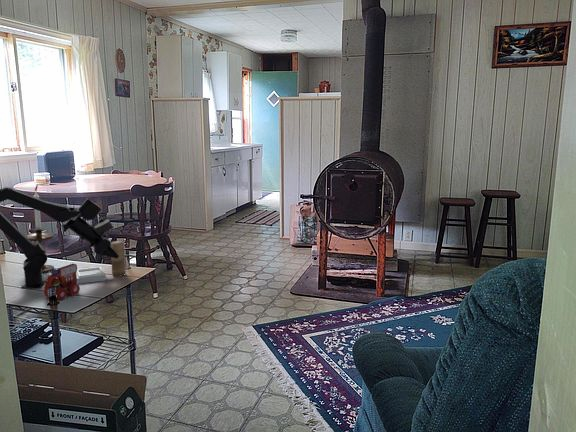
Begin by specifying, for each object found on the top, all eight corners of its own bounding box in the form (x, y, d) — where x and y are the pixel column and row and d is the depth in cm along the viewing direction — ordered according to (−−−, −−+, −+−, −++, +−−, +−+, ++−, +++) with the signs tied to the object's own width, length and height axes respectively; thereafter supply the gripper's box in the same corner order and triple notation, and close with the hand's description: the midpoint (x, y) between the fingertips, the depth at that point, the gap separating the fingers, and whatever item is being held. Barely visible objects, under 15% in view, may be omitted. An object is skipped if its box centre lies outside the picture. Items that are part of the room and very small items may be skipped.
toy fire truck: (39, 299, 157) (36, 270, 155) (70, 288, 168) (68, 261, 166) (52, 303, 154) (50, 273, 152) (84, 292, 165) (82, 263, 163)
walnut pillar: (123, 276, 183) (122, 244, 180) (110, 276, 182) (108, 244, 180) (127, 272, 187) (125, 241, 185) (114, 272, 187) (112, 241, 185)
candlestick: (62, 267, 193) (56, 182, 186) (46, 275, 182) (40, 186, 176) (37, 265, 194) (30, 181, 187) (20, 273, 183) (12, 185, 177)
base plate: (77, 283, 173) (76, 276, 173) (75, 276, 182) (74, 269, 181) (105, 280, 178) (105, 273, 177) (102, 272, 186) (101, 266, 186)
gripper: (102, 218, 169) (135, 244, 176) (95, 209, 185) (126, 233, 193) (80, 241, 167) (114, 266, 174) (75, 230, 183) (107, 254, 190)
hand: (116, 254), depth 183 cm, fingers open, 9 cm apart
